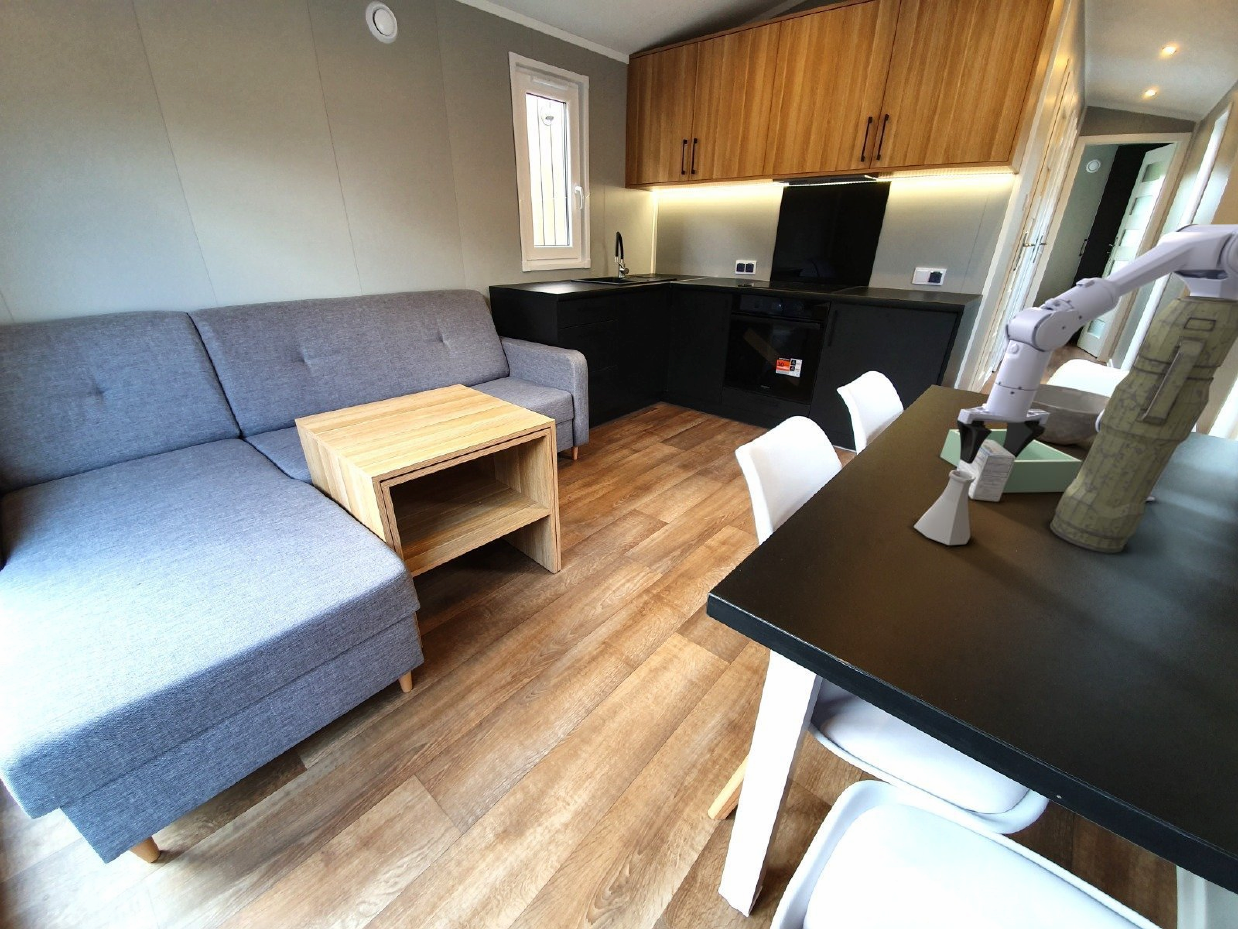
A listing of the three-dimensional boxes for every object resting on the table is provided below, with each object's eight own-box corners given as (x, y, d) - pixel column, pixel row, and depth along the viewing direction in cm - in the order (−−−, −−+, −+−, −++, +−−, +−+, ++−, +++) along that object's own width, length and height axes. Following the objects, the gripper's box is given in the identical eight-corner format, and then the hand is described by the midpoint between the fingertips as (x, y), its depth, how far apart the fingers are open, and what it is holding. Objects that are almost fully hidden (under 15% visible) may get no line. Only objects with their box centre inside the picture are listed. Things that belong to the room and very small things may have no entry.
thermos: (1051, 543, 73) (1172, 298, 58) (1046, 511, 82) (1150, 291, 67) (1131, 566, 68) (1285, 306, 53) (1117, 529, 77) (1246, 297, 62)
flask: (950, 551, 70) (974, 490, 66) (904, 526, 76) (923, 468, 72) (979, 539, 73) (1004, 480, 69) (932, 516, 79) (952, 460, 75)
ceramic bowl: (987, 414, 128) (1001, 377, 124) (1103, 435, 116) (1123, 395, 112) (984, 439, 112) (1000, 397, 107) (1119, 466, 100) (1143, 420, 96)
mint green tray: (1000, 456, 103) (1010, 429, 100) (1068, 491, 89) (1082, 461, 86) (940, 456, 102) (949, 429, 99) (999, 492, 88) (1012, 462, 85)
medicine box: (998, 503, 84) (1018, 457, 80) (970, 499, 85) (988, 454, 81) (978, 482, 91) (994, 439, 87) (952, 479, 92) (967, 437, 88)
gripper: (1035, 379, 84) (1005, 451, 90) (956, 378, 82) (931, 451, 88) (1073, 391, 77) (1038, 468, 83) (989, 390, 76) (959, 469, 82)
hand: (985, 461), depth 85 cm, fingers open, 7 cm apart
